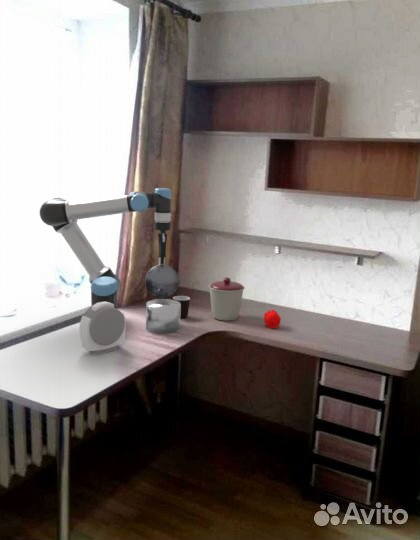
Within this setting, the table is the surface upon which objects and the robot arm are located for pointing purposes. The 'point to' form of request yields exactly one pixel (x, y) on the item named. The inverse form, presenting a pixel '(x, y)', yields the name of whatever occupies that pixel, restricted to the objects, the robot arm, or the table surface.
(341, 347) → the table surface
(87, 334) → the alarm clock
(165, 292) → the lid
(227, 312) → the canister
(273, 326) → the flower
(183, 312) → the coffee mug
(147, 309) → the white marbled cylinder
